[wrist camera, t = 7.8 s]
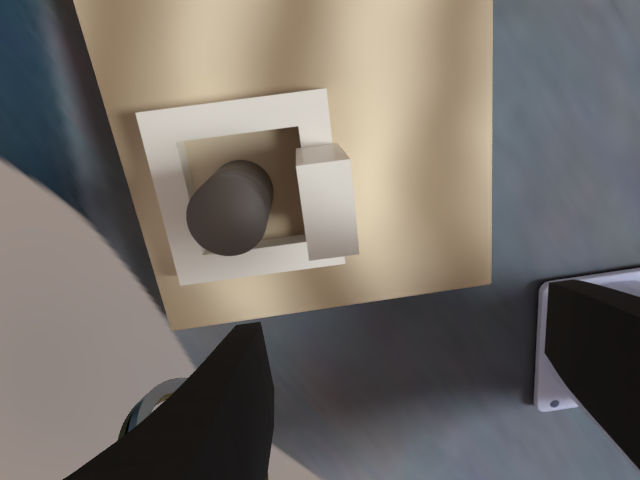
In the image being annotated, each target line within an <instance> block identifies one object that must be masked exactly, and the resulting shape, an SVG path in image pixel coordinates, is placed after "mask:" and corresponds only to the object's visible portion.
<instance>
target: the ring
mask: <svg viewBox="0 0 640 480" xmlns="http://www.w3.org/2000/svg"><path fill="white" fill-rule="evenodd" d="M187 379H188V378H176V379H171V380H168V381H165V382H163V383H161V384H159V385H158V386H156V387H155V388H154V389H152V390H151V391H150V392H149V393H148V394H146V395H145V396H144V397H143V398H142V399H141V400H140V401H139V402H138V403H137V404H136V405H135V406H134V408H133V409H132V410H131V411H130V413H129V414H128V416H127V418H126V419H125V421H124V423H123V425H122V428H121V430H120V434H119V437H118V440H119V439H121V438H122V437H123V436H124V435H126V434H127V433H128V432H129V431H131V430H132V429H133V428H134V427H136V426H137V425H138V424H139V423H140V422H142V421H143V420H144V419H145V418H146V417H148V416H149V415H150V414H151V412H152V410H153V408H154V407H155V406H156V405H157V404H159V403H160V402H162V401H165V400H167V399H168V398H169V397H170V396H171V395H172V394H173V393H174V392H175V391H176V390H177V389H178V388H179V387H180V386H181V385H182V384H183V383H184V382H185V381H186V380H187ZM266 480H268V472H267V479H266Z"/></svg>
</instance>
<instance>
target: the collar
mask: <svg viewBox="0 0 640 480" xmlns="http://www.w3.org/2000/svg"><path fill="white" fill-rule="evenodd" d="M135 114H136V118H137V122H138V126H139V129H140V133H141V137H142V141H143V145H144V149H145V152H146V156H147V160H148V164H149V168H150V172H151V176H152V179H153V183H154V187H155V191H156V195H157V199H158V202H159V206H160V210H161V214H162V218H163V222H164V226H165V229H166V233H167V237H168V241H169V245H170V249H171V252H172V256H173V260H174V264H175V268H176V272H177V276H178V279H179V283H180V286H182V285H189V284H197V283H204V282H212V281H219V280H227V279H235V278H242V277H250V276H257V275H265V274H272V273H280V272H287V271H295V270H303V269H310V268H318V267H325V266H333V265H340V264H345V256H350V255H358V254H359V243H358V233H357V222H356V212H355V201H354V191H353V180H352V170H351V159H350V158H349V157H348V155H347V154H346V153H345V152H344V150H343V149H342V148H341V147H340V145H339V144H338V143H334V144H332V135H331V125H330V116H329V107H328V98H327V89H326V88H324V89H316V90H308V91H300V92H293V93H285V94H277V95H269V96H261V97H254V98H246V99H238V100H230V101H222V102H215V103H207V104H199V105H191V106H183V107H176V108H168V109H160V110H152V111H145V112H137V113H135ZM296 126H298V128H299V135H300V143H301V148H296V171H297V178H298V185H299V192H300V200H301V207H302V214H303V221H304V228H305V234H303V235H295V236H288V237H280V238H272V239H265V240H261V241H260V242H259V243H258V244H257V245H256V246H255V247H254V248H253V249H251V250H250V251H248V252H246V253H244V254H241V255H236V256H222V255H217V254H214V253H212V252H209V251H208V250H206V249H204V248H203V247H202V246H200V245H199V244H198V243H197V242H196V241H195V239H194V238H193V236H192V235H191V233H190V231H189V229H188V226H187V221H186V210H187V206H188V203H189V200H190V199H191V197H192V195H193V194H194V193H195V191H194V186H193V182H192V177H191V173H190V169H189V164H188V160H187V155H186V151H185V147H184V142H183V141H187V140H195V139H203V138H211V137H218V136H226V135H234V134H242V133H249V132H257V131H265V130H273V129H280V128H288V127H296Z"/></svg>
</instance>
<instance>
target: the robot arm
mask: <svg viewBox="0 0 640 480" xmlns="http://www.w3.org/2000/svg"><path fill="white" fill-rule="evenodd" d="M552 401H553V402H552ZM534 405H535V406H536V408H537V409H538V410H539V411H541V412H546V411H553V410H560V409H566V408H573V407H580V409H581V410H582V411H583V412H584V413H585V414H586V415H587V416H588V417H589V419H590V420H591V421H592V422H593V423H594V424H595V425H596V426H597V427H598V429H599V430H600V431H601V432H602V433H603V434H604V435H605V436H606V438H607V439H608V440H609V441H610V442H611V443H612V444H613V445H614V446H615V448H616V449H617V450H618V451H619V452H620V453H621V454H622V455H623V456H624V458H625V459H626V460H627V461H628V462H629V463H630V464H631V465H632V467H633V468H634V469H635V470H636V471H637V472H638V473H639V474H640V268H634V269H627V270H621V271H614V272H607V273H600V274H593V275H587V276H580V277H573V278H566V279H559V280H553V281H548V282H545V283H544V284H542V286H541V287H540V289H539V301H538V322H537V343H536V364H535V384H534ZM273 428H274V386H273V381H272V376H271V371H270V366H269V361H268V356H267V351H266V346H265V341H264V336H263V331H262V326H261V322H256V323H249V324H241V325H236V326H235V327H234V328H233V329H232V330H231V331H230V332H229V334H228V335H227V336H226V337H225V338H224V339H223V340H222V342H221V343H220V344H219V345H218V346H217V347H216V349H215V350H214V351H213V352H212V353H211V354H210V355H209V356H208V357H207V359H206V360H205V361H204V362H203V363H202V364H201V365H200V366H199V367H198V368H197V370H196V371H195V372H194V373H193V374H192V375H191V376H190V377H189V378H188V379H187V380H186V381H185V382H184V383H183V384H182V385H181V386H180V387H179V388H178V389H177V390H176V391H175V392H174V393H173V394H172V395H171V396H170V397H169V398H168V399H167V400H166V401H164V402H163V403H162V404H161V405H160V406H159V407H158V408H157V409H156V410H154V411H153V412H152V413H151V414H150V415H149V416H148V417H146V418H145V419H144V420H143V421H142V422H140V423H139V424H138V425H137V426H136V427H134V428H133V429H132V430H131V431H129V432H128V433H127V434H126V435H124V436H123V437H122V438H121V439H119V440H118V441H117V442H115V443H114V444H112V445H111V446H110V447H108V448H107V449H106V450H104V451H103V452H101V453H100V454H99V455H97V456H96V457H94V458H93V459H92V460H91V461H89V462H88V463H86V464H85V465H83V466H82V467H81V468H79V469H78V470H77V471H75V472H74V473H72V474H71V475H69V476H68V477H66V478H64V479H63V480H266V479H267V472H268V465H269V457H270V450H271V443H272V436H273Z"/></svg>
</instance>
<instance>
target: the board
mask: <svg viewBox="0 0 640 480" xmlns="http://www.w3.org/2000/svg"><path fill="white" fill-rule="evenodd" d="M73 2H74V5H75V9H76V12H77V15H78V19H79V22H80V25H81V29H82V32H83V36H84V39H85V42H86V46H87V49H88V52H89V56H90V59H91V62H92V66H93V69H94V72H95V76H96V79H97V83H98V86H99V89H100V93H101V96H102V99H103V103H104V106H105V109H106V113H107V116H108V119H109V123H110V126H111V130H112V133H113V136H114V140H115V143H116V146H117V150H118V153H119V156H120V160H121V163H122V166H123V170H124V173H125V177H126V180H127V183H128V187H129V190H130V193H131V197H132V200H133V203H134V207H135V210H136V214H137V217H138V220H139V224H140V227H141V230H142V234H143V237H144V240H145V244H146V247H147V250H148V254H149V257H150V261H151V264H152V267H153V271H154V274H155V277H156V281H157V284H158V287H159V291H160V294H161V297H162V301H163V304H164V308H165V311H166V314H167V318H168V321H169V324H170V328H171V331H175V330H182V329H189V328H196V327H203V326H209V325H216V324H223V323H230V322H237V321H244V320H250V319H257V318H264V317H271V316H278V315H284V314H291V313H298V312H305V311H312V310H318V309H325V308H332V307H339V306H346V305H352V304H359V303H366V302H373V301H380V300H386V299H393V298H400V297H407V296H414V295H420V294H427V293H434V292H441V291H448V290H454V289H461V288H468V287H475V286H482V285H488V284H491V254H492V47H493V0H73ZM324 88H326V89H327V98H328V107H329V116H330V125H331V135H332V144H334V143H338V144H339V145H340V147H341V148H342V149H343V150H344V152H345V153H346V154H347V155H348V157H349V158H350V159H351V170H352V180H353V191H354V201H355V212H356V222H357V233H358V243H359V254H358V255H350V256H345V264H340V265H333V266H325V267H318V268H310V269H303V270H295V271H287V272H280V273H272V274H265V275H257V276H250V277H242V278H235V279H227V280H219V281H212V282H204V283H197V284H189V285H182V286H180V283H179V279H178V276H177V272H176V268H175V264H174V260H173V256H172V252H171V249H170V245H169V241H168V237H167V233H166V229H165V226H164V222H163V218H162V214H161V210H160V206H159V202H158V199H157V195H156V191H155V187H154V183H153V179H152V176H151V172H150V168H149V164H148V160H147V156H146V152H145V149H144V145H143V141H142V137H141V133H140V129H139V126H138V122H137V118H136V114H135V113H137V112H145V111H152V110H160V109H168V108H176V107H183V106H191V105H199V104H207V103H215V102H222V101H230V100H238V99H246V98H254V97H261V96H269V95H277V94H285V93H293V92H300V91H308V90H316V89H324ZM183 142H184V147H185V151H186V155H187V160H188V164H189V169H190V173H191V177H192V182H193V186H194V191H195V193H194V194H193V195H192V197H191V199H190V200H189V203H188V206H187V210H186V221H187V226H188V229H189V231H190V233H191V235H192V236H193V238H194V239H195V241H196V242H197V243H198V244H199V245H200V246H202V247H203V248H204V249H206V250H208V251H209V252H212V253H214V254H217V255H222V256H236V255H241V254H244V253H246V252H248V251H250V250H251V249H253V248H254V247H255V246H256V245H257V244H258V243H259V242H260V241H261V240H265V239H272V238H280V237H288V236H295V235H303V234H305V228H304V221H303V214H302V207H301V200H300V192H299V185H298V178H297V171H296V148H301V143H300V135H299V128H298V126H296V127H288V128H280V129H273V130H265V131H257V132H249V133H242V134H234V135H226V136H218V137H211V138H203V139H195V140H187V141H183Z"/></svg>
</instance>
